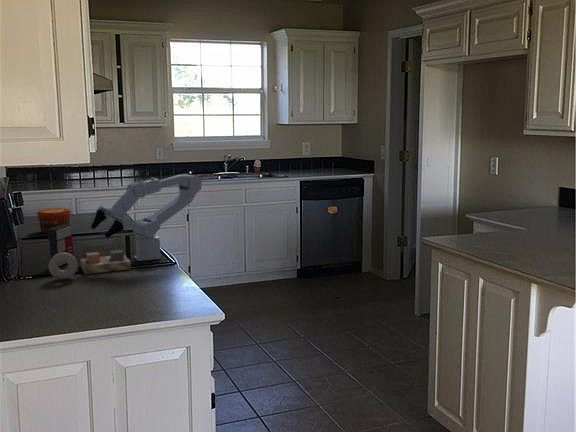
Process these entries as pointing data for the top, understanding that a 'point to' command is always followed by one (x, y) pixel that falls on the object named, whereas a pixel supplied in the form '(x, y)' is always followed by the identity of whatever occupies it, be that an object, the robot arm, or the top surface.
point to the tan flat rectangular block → (105, 265)
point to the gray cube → (116, 255)
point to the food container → (53, 218)
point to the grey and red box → (60, 240)
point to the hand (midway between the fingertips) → (99, 232)
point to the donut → (63, 258)
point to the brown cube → (93, 257)
